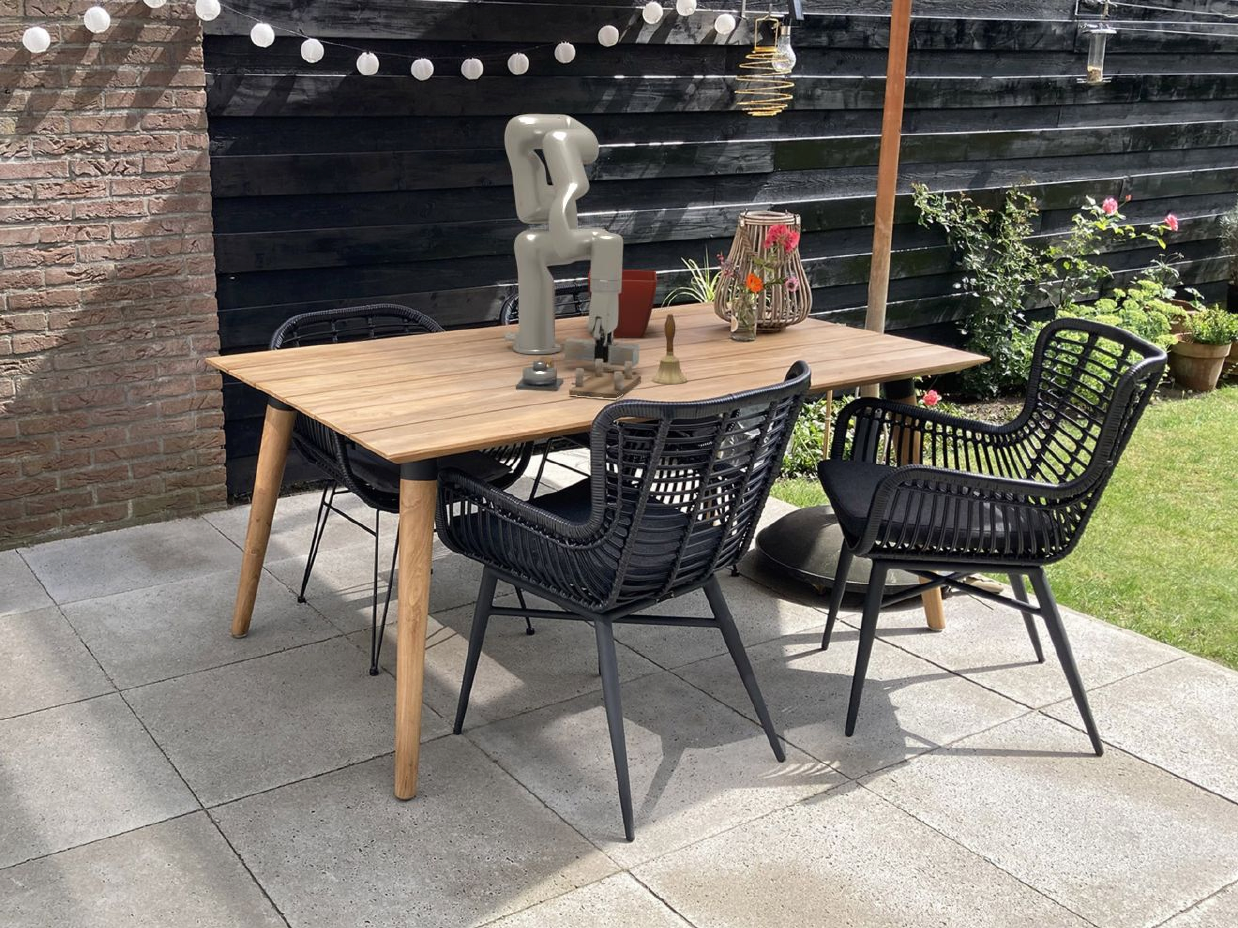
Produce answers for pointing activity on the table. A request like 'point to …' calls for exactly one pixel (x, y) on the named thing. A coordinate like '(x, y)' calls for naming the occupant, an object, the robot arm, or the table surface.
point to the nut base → (540, 385)
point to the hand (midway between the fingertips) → (603, 359)
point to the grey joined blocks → (616, 351)
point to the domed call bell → (541, 372)
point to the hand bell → (669, 359)
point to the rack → (605, 382)
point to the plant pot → (634, 302)
